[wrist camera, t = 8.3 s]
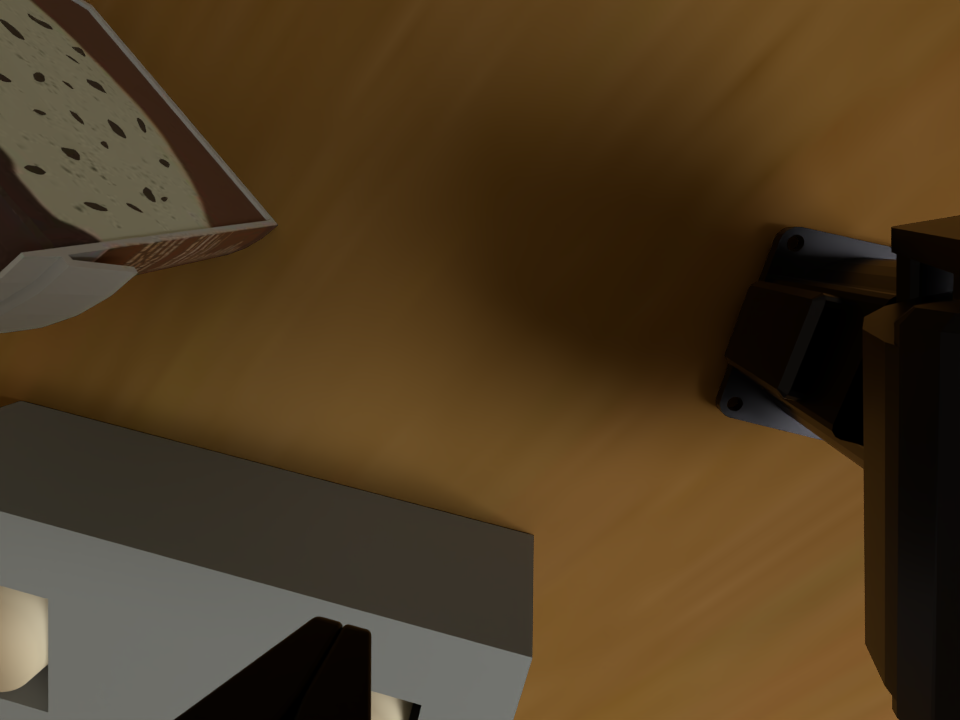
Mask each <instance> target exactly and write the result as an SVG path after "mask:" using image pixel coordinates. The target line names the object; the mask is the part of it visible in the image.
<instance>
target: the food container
mask: <svg viewBox="0 0 960 720" xmlns="http://www.w3.org/2000/svg"><path fill="white" fill-rule="evenodd" d="M277 225H278V224H277V223H276V222H275V221H274V220H273V218H272V217H271V216H270V215H269V214H268V212H267V211H266V210H265V209H264V208H263V207H262V205H261V204H260V203H259V202H258V201H257V199H256V198H255V197H254V196H253V195H252V194H251V192H250V191H249V190H248V189H247V188H246V186H245V185H244V184H243V183H242V182H241V181H240V179H239V178H238V177H237V176H236V175H235V173H234V172H233V171H232V170H231V169H230V168H229V166H228V165H227V164H226V163H225V162H224V161H223V159H222V158H221V157H220V156H219V155H218V153H217V152H216V151H215V150H214V149H213V148H212V146H211V145H210V144H209V143H208V142H207V140H206V139H205V138H204V137H203V136H202V135H201V133H200V132H199V131H198V130H197V129H196V127H195V126H194V125H193V124H192V123H191V122H190V120H189V119H188V118H187V117H186V116H185V114H184V113H183V112H182V111H181V110H180V109H179V107H178V106H177V105H176V104H175V103H174V102H173V100H172V99H171V98H170V97H169V96H168V94H167V93H166V92H165V91H164V90H163V89H162V87H161V86H160V85H159V84H158V83H157V81H156V80H155V79H154V78H153V77H152V76H151V74H150V73H149V72H148V71H147V70H146V68H145V67H144V66H143V65H142V64H141V63H140V61H139V60H138V59H137V58H136V57H135V55H134V54H133V53H132V52H131V51H130V50H129V48H128V47H127V46H126V45H125V44H124V43H123V41H122V40H121V39H120V38H119V37H118V35H117V34H116V33H115V32H114V31H113V30H112V28H111V27H110V26H109V25H108V24H107V22H106V21H105V20H104V19H103V18H102V17H101V15H100V14H99V13H98V12H97V11H96V9H95V8H94V7H93V6H92V5H91V4H89V3H87V2H86V1H84V0H0V333H7V332H14V331H21V330H28V329H35V328H42V327H45V326H48V325H51V324H54V323H57V322H60V321H62V320H65V319H68V318H71V317H74V316H77V315H79V314H81V313H82V312H84V311H86V310H88V309H89V308H91V307H93V306H95V305H96V304H98V303H100V302H101V301H103V300H105V299H107V298H108V297H110V296H111V295H113V294H114V293H115V292H116V291H117V290H118V289H120V288H121V287H122V286H123V285H124V284H125V283H127V282H128V281H129V280H130V279H131V278H132V277H134V276H135V275H139V274H144V273H148V272H152V271H157V270H161V269H166V268H170V267H175V266H179V265H183V264H188V263H192V262H197V261H201V260H206V259H210V258H215V257H219V256H223V255H228V254H230V253H233V252H236V251H239V250H241V249H244V248H246V247H248V246H250V245H251V244H253V243H255V242H257V241H258V240H260V239H262V238H263V237H264V236H265V235H267V234H268V233H269V232H270V231H271V230H273V229H274V228H275V227H276V226H277Z"/></svg>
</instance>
